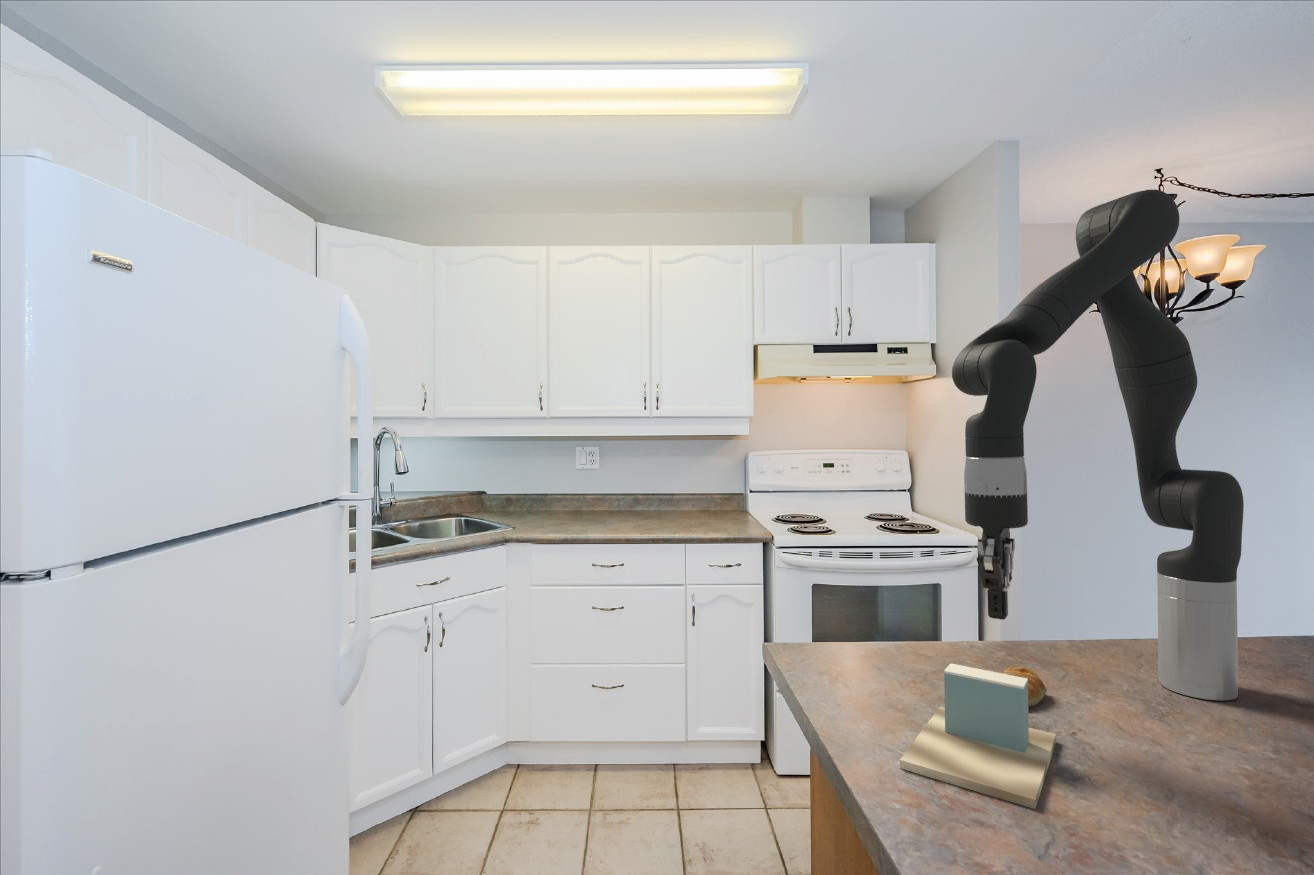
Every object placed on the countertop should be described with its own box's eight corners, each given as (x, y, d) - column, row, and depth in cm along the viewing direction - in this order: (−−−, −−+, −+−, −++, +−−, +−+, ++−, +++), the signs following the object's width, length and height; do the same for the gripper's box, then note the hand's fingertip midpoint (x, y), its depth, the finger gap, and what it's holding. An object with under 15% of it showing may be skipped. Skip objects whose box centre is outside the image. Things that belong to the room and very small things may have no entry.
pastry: (1034, 717, 89) (1033, 690, 89) (981, 704, 93) (981, 678, 93) (1048, 695, 96) (1048, 670, 96) (999, 684, 100) (998, 660, 100)
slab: (951, 723, 85) (950, 663, 85) (1028, 742, 79) (1027, 678, 79) (945, 732, 82) (944, 670, 82) (1024, 752, 77) (1023, 686, 77)
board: (940, 713, 90) (939, 706, 90) (1056, 741, 81) (1056, 733, 81) (899, 768, 76) (899, 759, 76) (1035, 809, 67) (1035, 799, 67)
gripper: (1018, 496, 79) (1022, 635, 79) (1033, 486, 89) (1036, 609, 89) (953, 493, 83) (956, 625, 84) (975, 485, 94) (977, 602, 94)
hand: (998, 617), depth 87 cm, fingers closed
